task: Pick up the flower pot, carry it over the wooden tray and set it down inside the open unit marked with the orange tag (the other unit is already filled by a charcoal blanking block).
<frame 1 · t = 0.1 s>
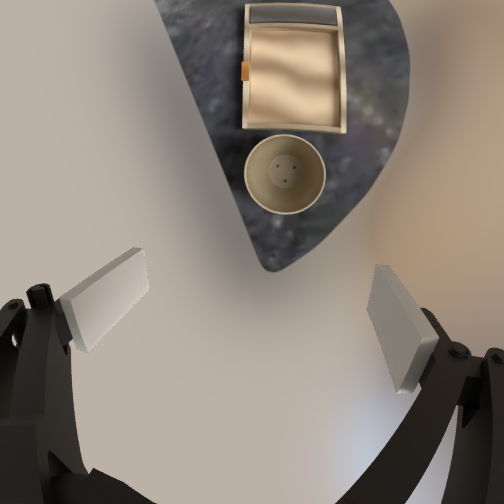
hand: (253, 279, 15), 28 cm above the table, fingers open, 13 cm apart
flower pot: (286, 171, 39), on the table
wooden tray: (294, 63, 33), on the table
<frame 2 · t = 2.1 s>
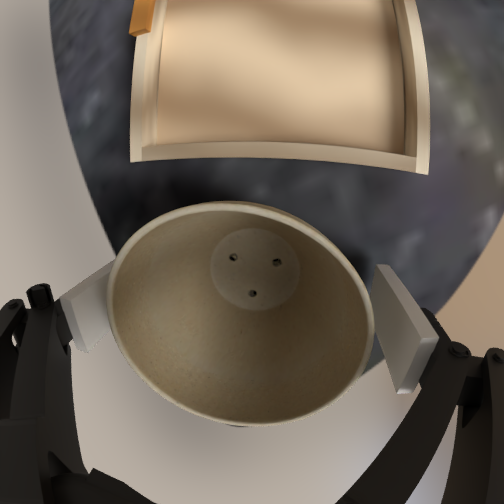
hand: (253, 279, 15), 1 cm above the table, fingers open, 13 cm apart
flower pot: (257, 267, 16), on the table
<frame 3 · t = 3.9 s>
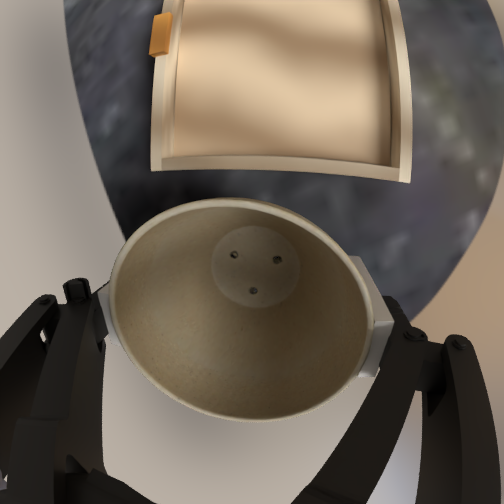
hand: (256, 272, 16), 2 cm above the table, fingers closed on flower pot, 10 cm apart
flower pot: (257, 265, 16), point 2 cm above the table, touching gripper
wooden tray: (281, 13, 12), on the table
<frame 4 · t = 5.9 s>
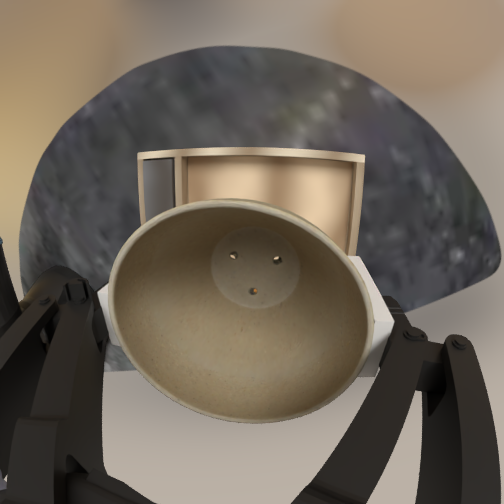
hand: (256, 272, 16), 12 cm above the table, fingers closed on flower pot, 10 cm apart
flower pot: (257, 265, 16), point 12 cm above the table, touching gripper
wooden tray: (246, 220, 28), on the table
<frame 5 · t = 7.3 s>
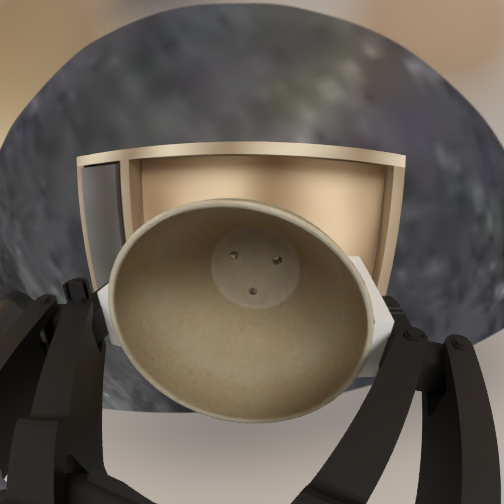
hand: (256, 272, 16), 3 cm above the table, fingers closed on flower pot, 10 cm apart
flower pot: (257, 265, 16), point 3 cm above the table, touching gripper
wooden tray: (225, 250, 19), on the table
when the fingers open (3 cm above the table, at t = 8.1 s): flower pot drops 2 cm, resting on wooden tray.
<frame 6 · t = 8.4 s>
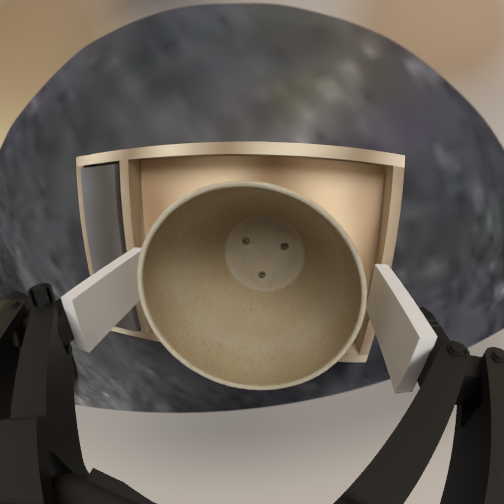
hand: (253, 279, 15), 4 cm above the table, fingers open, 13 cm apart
flower pot: (266, 251, 18), point 1 cm above the table, touching wooden tray
wooden tray: (225, 250, 19), on the table
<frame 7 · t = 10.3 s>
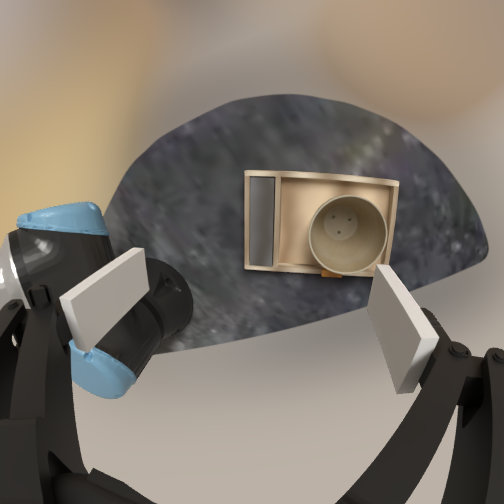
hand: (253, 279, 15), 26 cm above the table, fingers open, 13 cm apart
flower pot: (340, 222, 38), resting on wooden tray
wooden tray: (320, 222, 39), on the table
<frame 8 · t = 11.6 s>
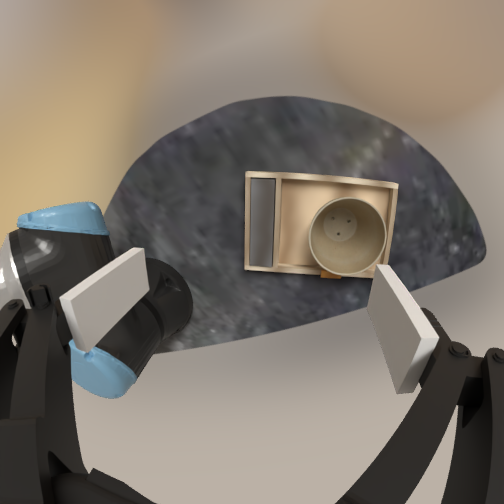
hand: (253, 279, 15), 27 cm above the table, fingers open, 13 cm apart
flower pot: (340, 223, 39), resting on wooden tray
wooden tray: (320, 223, 40), on the table
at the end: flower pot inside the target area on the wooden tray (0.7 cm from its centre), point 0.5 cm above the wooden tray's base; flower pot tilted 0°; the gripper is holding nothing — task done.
